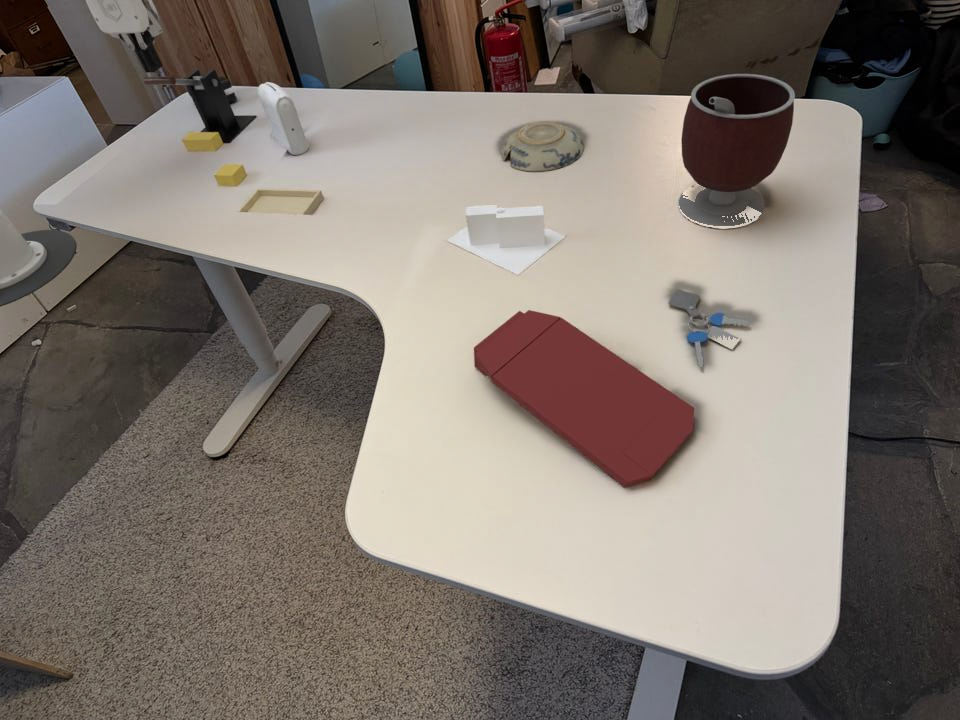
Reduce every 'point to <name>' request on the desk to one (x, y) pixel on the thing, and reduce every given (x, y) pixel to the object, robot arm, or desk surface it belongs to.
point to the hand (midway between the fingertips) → (154, 69)
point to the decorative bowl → (542, 147)
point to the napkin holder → (506, 235)
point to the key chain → (718, 319)
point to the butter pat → (230, 175)
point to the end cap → (226, 85)
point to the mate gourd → (733, 143)
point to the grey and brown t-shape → (174, 81)
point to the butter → (202, 141)
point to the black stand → (216, 107)
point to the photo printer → (282, 118)
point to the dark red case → (586, 394)
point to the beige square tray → (283, 201)
